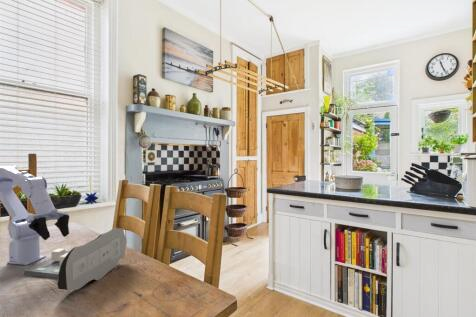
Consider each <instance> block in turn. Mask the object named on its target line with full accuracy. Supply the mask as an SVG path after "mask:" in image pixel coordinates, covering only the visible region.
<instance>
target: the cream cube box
mask: <svg viewBox="0 0 476 317" xmlns="http://www.w3.org/2000/svg"><path fill="white" fill-rule="evenodd" d="M67 254H68V253H66V254H64V255H62V256H60V257H59V258H60V266H61V264H62V262H63V260H64V258H65V256H66V255H67Z"/></svg>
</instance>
